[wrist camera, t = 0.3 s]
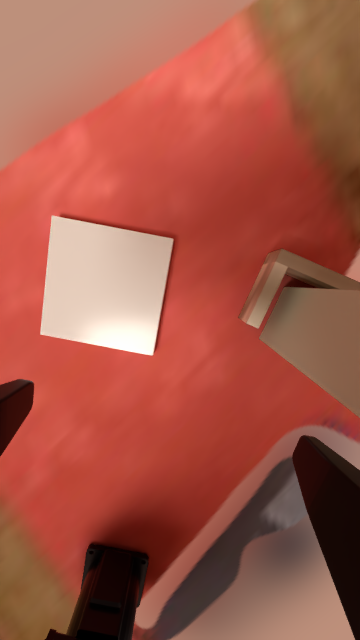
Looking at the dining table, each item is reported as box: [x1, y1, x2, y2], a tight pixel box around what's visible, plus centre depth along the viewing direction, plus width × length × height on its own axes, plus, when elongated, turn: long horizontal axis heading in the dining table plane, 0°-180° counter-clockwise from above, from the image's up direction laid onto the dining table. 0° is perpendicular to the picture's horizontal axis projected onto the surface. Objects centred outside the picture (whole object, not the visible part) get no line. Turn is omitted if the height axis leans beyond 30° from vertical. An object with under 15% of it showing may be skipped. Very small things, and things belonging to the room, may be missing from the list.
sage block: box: [259, 287, 360, 418], centre depth 14 cm, size 5×5×14 cm
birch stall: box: [238, 249, 360, 328], centre depth 20 cm, size 6×10×3 cm, turn 67°
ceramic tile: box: [40, 216, 174, 356], centre depth 21 cm, size 10×10×1 cm
